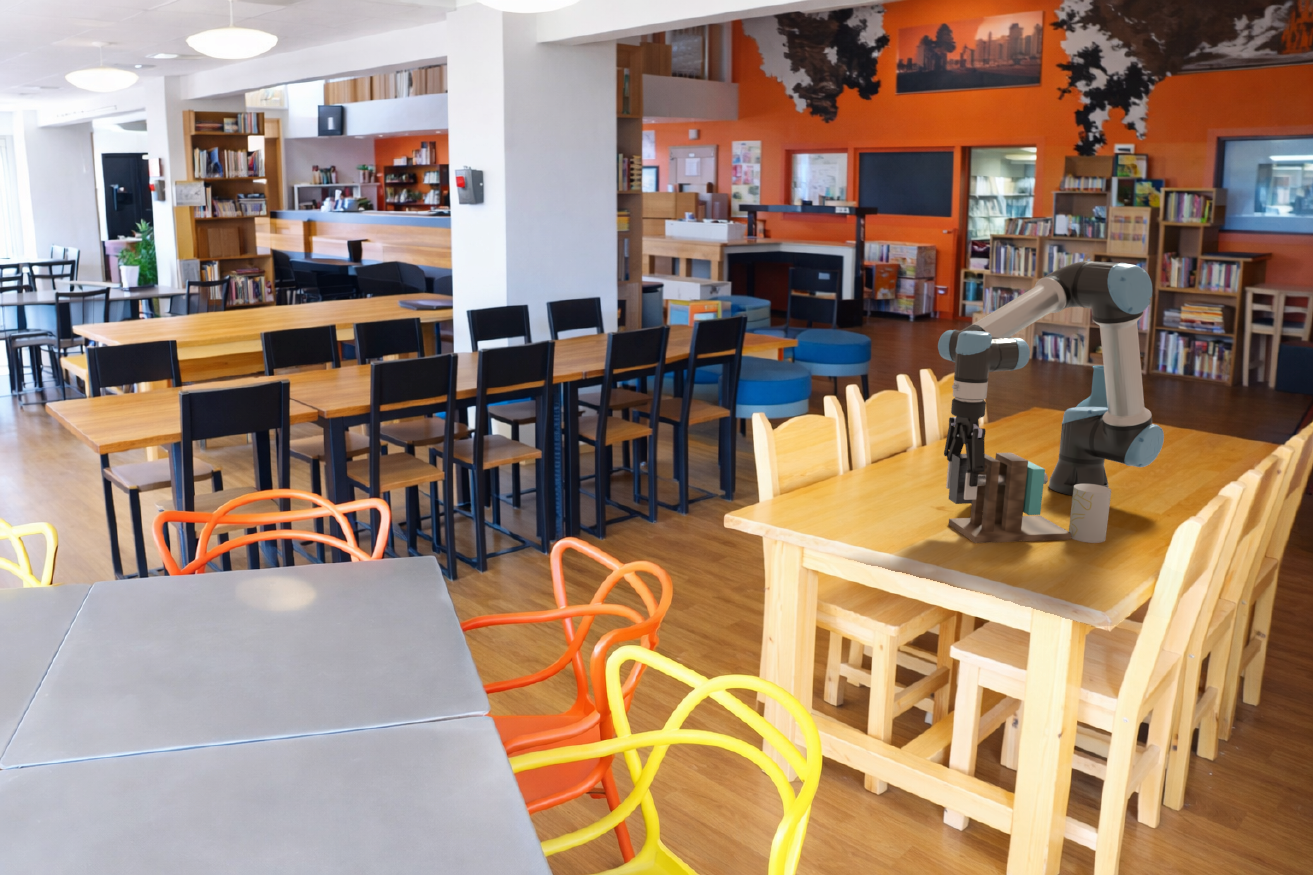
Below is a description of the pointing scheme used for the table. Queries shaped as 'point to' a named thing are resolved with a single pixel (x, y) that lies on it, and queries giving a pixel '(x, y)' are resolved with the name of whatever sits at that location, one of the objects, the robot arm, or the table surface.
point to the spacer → (1033, 489)
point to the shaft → (959, 477)
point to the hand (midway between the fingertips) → (960, 493)
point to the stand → (1005, 507)
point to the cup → (1089, 513)
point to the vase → (1097, 390)
